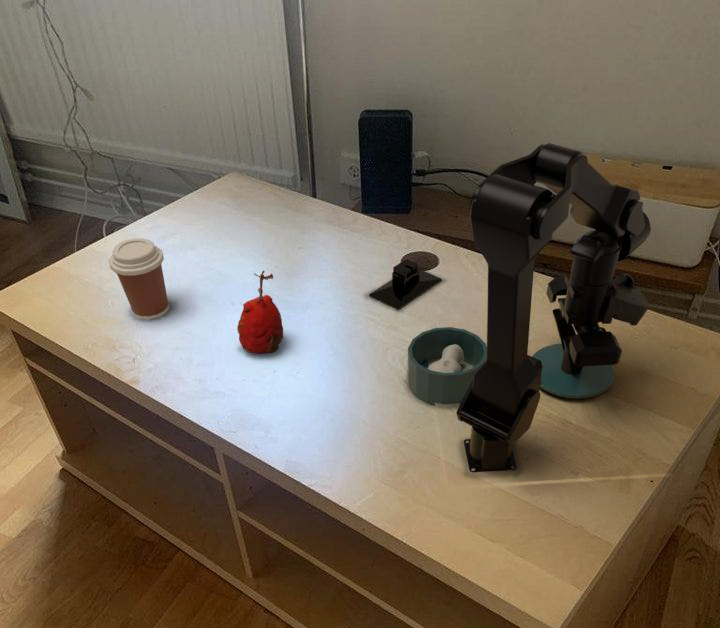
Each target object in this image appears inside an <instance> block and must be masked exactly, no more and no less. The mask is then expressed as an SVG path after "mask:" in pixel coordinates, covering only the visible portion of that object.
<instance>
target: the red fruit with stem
mask: <svg viewBox="0 0 720 628" xmlns="http://www.w3.org/2000/svg"><path fill="white" fill-rule="evenodd" d="M265 272H266V271H265V270H262V271H261V274H260V275H258V274H257V273H255V272H254V273H253V275H254V276H256V277H258V278H259V287H258V288H257V291H258V293H259V296H257V297H255V298H252V299H250V300H247V301H245V302H244V303H243V304H242V305H243V309H242V311H241V313H240V318H239V320H238V323H237V326H236V327H237V333H238V341H239V344H240V345H241V347H242V349H243V350H246V352H248V353H251V354H254V355H267V354H273V353H275V352H277V351H278V350H279V348H280V345H281V343H282V341H283V340H284V326H283V319H282V315H281V311H280V310H279V308H278V307H277V305H276V304H275V303H274V302H273V298H272V296H270V295H268V294H264V295H263V293H264V291H263V283H264V280H266V281H269V280H273V279H274V275H273V273H272V272H271V273H270V274H268V275H264V273H265Z"/></svg>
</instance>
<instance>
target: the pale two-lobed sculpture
mask: <svg viewBox="0 0 720 628" xmlns="http://www.w3.org/2000/svg"><path fill="white" fill-rule="evenodd" d="M463 360H464V353H463V350H462V348H461V347H460V346H459V345H456V344H454V345H450V346H448V347H446V348H445V349H444V350H443V352H442V358H439V360H436V361H434V362H432V363H430V364H429V365H428V368H427V369H429V370H431V371H437V372H442V373H455V372H462V371H463V367H462V365H461V363H463V362H464V361H463Z"/></svg>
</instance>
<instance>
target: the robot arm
mask: <svg viewBox="0 0 720 628" xmlns="http://www.w3.org/2000/svg"><path fill="white" fill-rule="evenodd" d="M537 183H538V184H541V185H543V186H545V187H546V188H545V187H541V186H538V185H536V184H537ZM570 205H571V208H570ZM643 206H644V202H643V201H641V194H640V192H639V190H638V189H635V188H631V187H628V186H624V185H619V184H617V183H613V182H610V181H609V180H608V179H607V178H606V177H605V176H604V175H603V174H602V173H601V172H600V171H599V170H598V169H596V168H595V167H594V166H593V164H591V163H590V162H589V159H588V157H587V155H585V154H583V152H582V151H581V150H577V149H574V148H569V147H566V146H561V145H558V144H555V143H552V142H547V143H546V144H544V143H542V144H540V145H538V146H537V147H536V148H535V149H534V150H532V152H531V153H530V154H528V155H524V156H522V157H519V158H517V159H513V160H511V161H508V162H506V163H503V164H501V165H499V166H498V167H496V169H494V170H493V171H492V172H491V173H490V174H489V175H488V176H487V177H486V178H485V179H484V180H483V181H481V183H479V185H478V186H477V187H476V188H475V189H474V191H473V193H472V196H471V199H470V203H469V212H470V214H469V217H470V218H469V219H470V225H471V232H472V233H471V234H472V237H473V238H472V239H473V242H474V244H475V246H476V247H477V249H478V251H479V252H480V253H481V255H482V257H483V258H484V260H485V262H486V263H487V299H486V300H487V303H486V304H487V309H486V313H487V314H486V346H487V358H486V361H485V362H484V363H483V364H482V365H481V367H480V368H479V369H478V370H477V371H476V372H475V373H474V378H473V380H472V382H471V384H470V386H469V388H468V390H467V392H466V394H465V396H464V398H463V400H462V402H461V403H459V406H458V408H457V410H456V417H457V420H458V421H459V422H463V423H465V424H467V425H469V426H471V428H470V429H471V431H470V438H466V439H464V440H463V446H464V451H465V455H466V460H467V465H468V470H469V472H470V473H488V472H503V471H505V472H507V471H516V470H517V469H518V466H517V462H516V459H515V455H514V452H513V451H514V450H513V445H515V444H516V443H517V442H518V441H519V439H521V438H522V437H523V436H524V435H525V434H526V433H527V432H528V431H529V430H530V428H531V426H532V422H533V420H534V417H535V414H536V411H537V409H538V405H539V403H540V400H541V392H540V387H539V385H541V383H542V382H541V372H542V368H543V366H542V363H541V360H538V359H536V358H534V357H532V356H533V355H532V356H531V355H529V353H528V352H529V338H530V327H531V326H530V323H531V314H532V313H531V310H532V296H533V285H534V271H535V261H536V257H537V256H538V255H539V254H540V253H541V252H542V250H543V249H544V248H545V247H546V246H547V245H548V244H549V242H550V241H551V240H552V238H553V234H554V232H555V231H556V230H557V229H558V228H560V227H561V225H562V224H563V223H564V222H565V221H566V220H567V219H568V217H569V213H570V216H571V218H572V219H573V220H574V222H575V224H577V225H579V226H580V225H581V226H584V227H586V228H589V229H593V230H590V231H587V232H585V233H583V234H582V235H581V236H580V237H578V238H577V239H576V241H575V243H574V244H573V245H572V247H571V248H570V250H569V254H570V255H571V256H573V257H572V258H573V259H572V263H571V269H570V272H569V273H565V275H564V276H559V277H558V276H557V277H554V278H553V279H551V280H550V281H549V282H548V283H547V287H546V296H547V299H548V301H549V303H550V304H554V303H555V302H557V303H558V308H554V309H553V310H552V316H553V318H554V322H555V326H556V329H557V332H558V336H559V341H560V344H562V348H563V351H564V349H566V354H567V358H568V363H569V367H570V371H571V374H578V373H579V372H580V371H581V369H582V368H583V367H584V366H601V365H613V366H616V365H618V364H619V363H620V361H621V357H622V353H623V350H622V348H621V347H622V346H620V343H619V341H618V339H617V336H616V335H614V334H613V332H611V330H610V331H609V330H608V331H607V330H606V328H605V327H602V326H600V325H599V324H600V323H601V324H602V325H609V324H611V325H612V321H613V319H614V320H617V321H620V322H622V323H623V322H624V323H628V324H629V325H630V326H632V327H633V326H634V327H635V326H638V324H639V323H640V321H641V320H642V318H643V317H644V316H645V314H646V313H647V312H648V310H649V309H650V304H649V302H648V300H647V299H646V297H645V295H644V294H643V292H642V291H640V290H639V288H638V287H637V286H635V281H634V278H633V277H632V275H631V274H628V273H625V272H622V273H620V274H618V275H617V276H616V277H615V273H616V269H617V265H618V262H621V261H624V260H626V259H627V258H628V257H629V256H630V255H631V254H632V253H633V252H634V251H636V250H637V249H638V248H639V247H640V246H641V245H643V244H644V242H646V240H647V239H648V238H649V236H650V234H651V232H652V231H651V230H652V227H651V222H650V219H649V217H648V216H647V213H645V212H644V210H643ZM559 296H565V297H560V298H559ZM573 335H575V336H574V337H573V338H568V337H570V336H573ZM513 467H514V468H513ZM472 469H473V470H472Z"/></svg>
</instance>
